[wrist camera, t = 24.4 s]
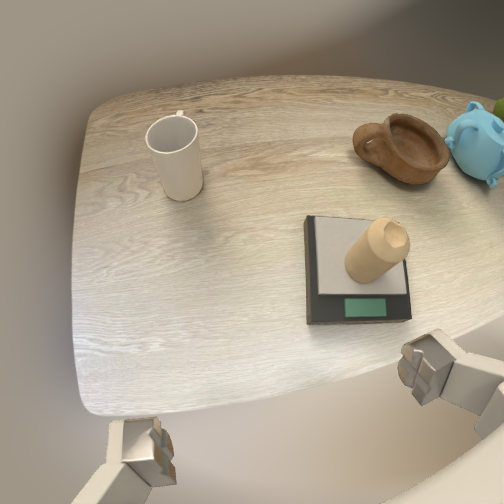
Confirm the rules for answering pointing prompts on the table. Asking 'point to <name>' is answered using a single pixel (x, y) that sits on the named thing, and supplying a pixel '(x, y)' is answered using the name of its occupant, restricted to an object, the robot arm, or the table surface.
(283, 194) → the table surface
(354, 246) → the candle
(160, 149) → the mug
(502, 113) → the apple
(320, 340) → the table surface
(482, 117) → the decorative pot
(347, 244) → the scale
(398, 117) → the bowl
